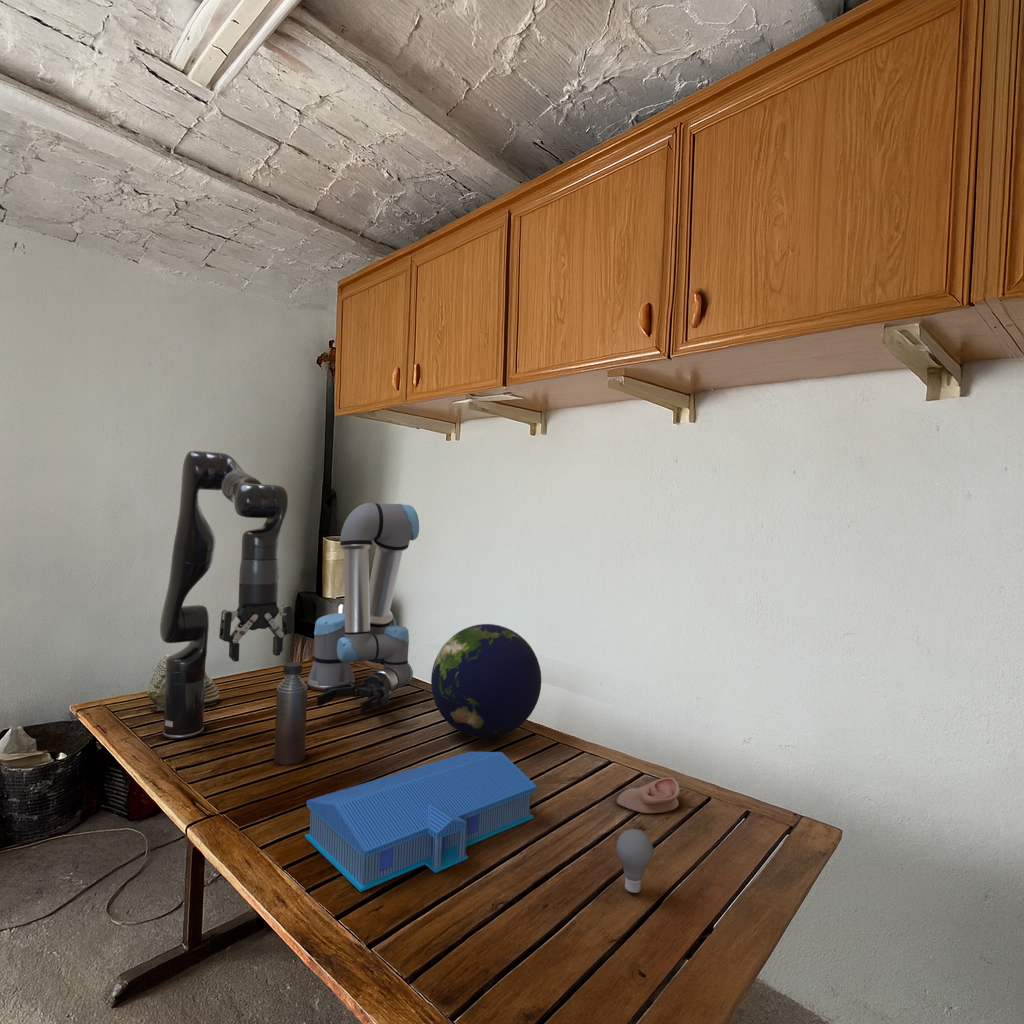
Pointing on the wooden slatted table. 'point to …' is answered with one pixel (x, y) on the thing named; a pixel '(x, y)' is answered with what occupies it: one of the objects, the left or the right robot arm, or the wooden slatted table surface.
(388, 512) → the right robot arm
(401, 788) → the model building
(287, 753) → the bottle
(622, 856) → the light bulb
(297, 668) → the cap
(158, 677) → the fossil
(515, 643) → the globe
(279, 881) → the wooden slatted table surface
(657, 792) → the anatomical model
